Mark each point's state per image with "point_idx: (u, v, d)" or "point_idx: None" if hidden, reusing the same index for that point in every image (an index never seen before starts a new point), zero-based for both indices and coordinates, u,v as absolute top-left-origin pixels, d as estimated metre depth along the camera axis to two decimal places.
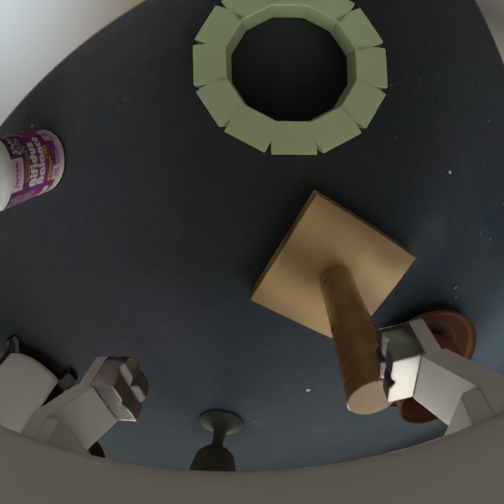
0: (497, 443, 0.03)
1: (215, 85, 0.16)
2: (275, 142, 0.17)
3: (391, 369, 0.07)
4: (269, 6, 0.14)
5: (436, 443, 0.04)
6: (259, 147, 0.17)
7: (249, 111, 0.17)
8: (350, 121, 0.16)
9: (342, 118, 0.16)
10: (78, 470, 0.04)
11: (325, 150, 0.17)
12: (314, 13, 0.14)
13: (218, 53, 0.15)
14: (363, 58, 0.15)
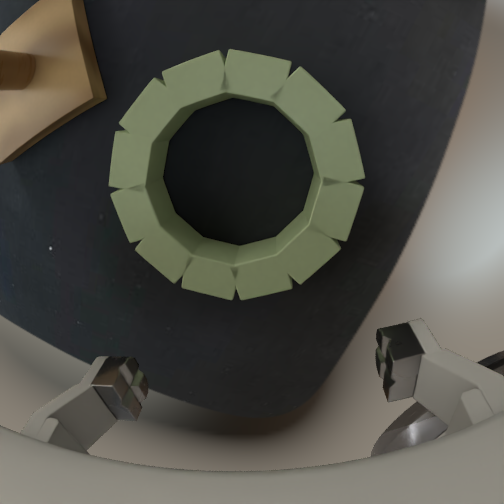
0: (497, 443, 0.03)
1: (276, 84, 0.11)
2: (160, 90, 0.12)
3: (391, 369, 0.07)
4: (309, 220, 0.14)
5: (436, 443, 0.04)
6: (170, 70, 0.11)
7: (214, 90, 0.12)
8: (125, 183, 0.13)
9: (133, 178, 0.13)
10: (78, 470, 0.04)
11: (116, 135, 0.13)
12: (263, 252, 0.15)
13: (308, 120, 0.12)
14: (177, 253, 0.15)
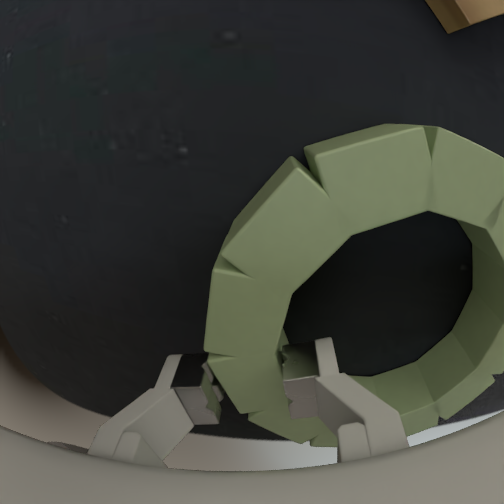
0: (497, 443, 0.03)
1: (490, 367, 0.08)
2: None
3: (284, 388, 0.08)
4: None
5: (436, 443, 0.04)
6: None
7: None
8: (440, 168, 0.06)
9: (447, 187, 0.06)
10: (78, 470, 0.04)
11: None
12: None
13: (448, 399, 0.09)
14: (293, 267, 0.07)
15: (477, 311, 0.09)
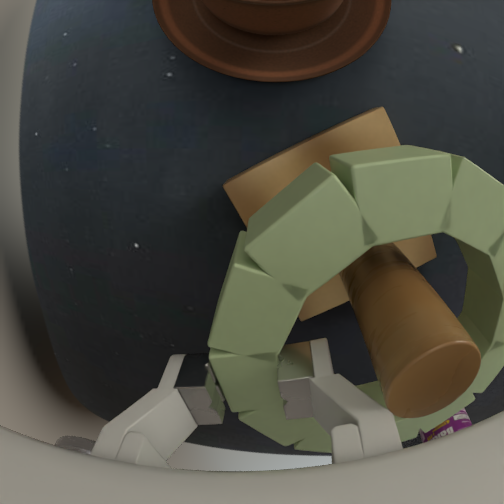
0: (497, 443, 0.03)
1: (472, 386, 0.09)
2: None
3: (279, 388, 0.08)
4: None
5: (436, 443, 0.04)
6: None
7: (498, 334, 0.08)
8: (459, 194, 0.06)
9: (462, 212, 0.06)
10: (78, 470, 0.04)
11: None
12: None
13: None
14: (314, 270, 0.07)
15: None
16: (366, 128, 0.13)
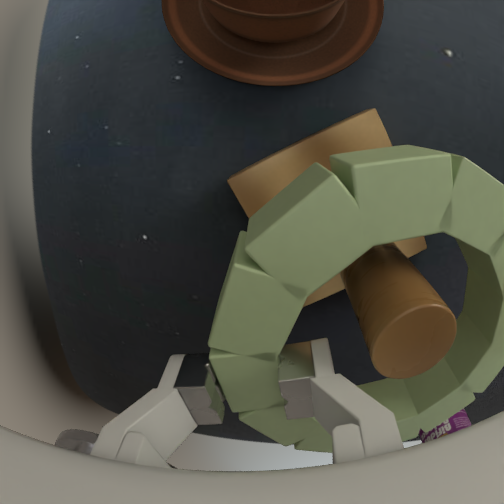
0: (497, 443, 0.03)
1: (473, 385, 0.09)
2: None
3: (280, 388, 0.08)
4: None
5: (436, 443, 0.04)
6: None
7: (498, 334, 0.08)
8: (459, 194, 0.06)
9: (462, 212, 0.06)
10: (78, 470, 0.04)
11: None
12: None
13: (431, 412, 0.10)
14: (314, 270, 0.07)
15: (466, 331, 0.10)
16: (359, 128, 0.15)
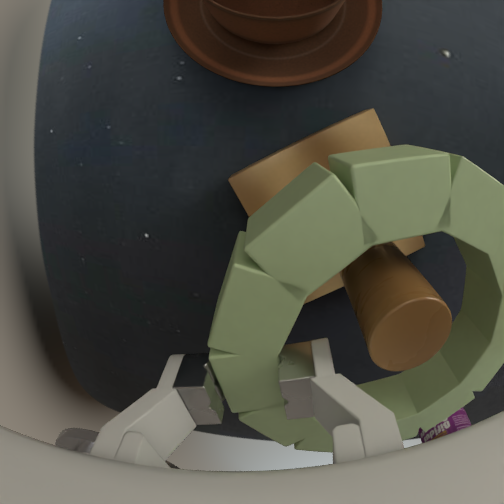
0: (497, 443, 0.03)
1: (472, 384, 0.09)
2: None
3: (280, 388, 0.08)
4: None
5: (436, 443, 0.04)
6: None
7: (497, 333, 0.08)
8: (457, 193, 0.06)
9: (461, 211, 0.07)
10: (78, 470, 0.04)
11: None
12: None
13: (430, 411, 0.10)
14: (314, 270, 0.07)
15: (464, 330, 0.10)
16: (357, 128, 0.15)
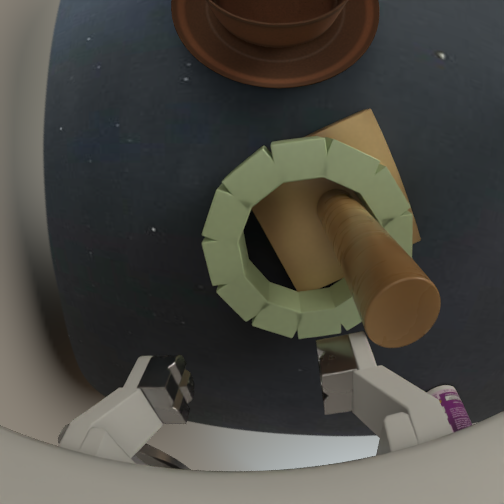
0: (497, 443, 0.03)
1: None
2: (398, 210, 0.15)
3: (321, 383, 0.07)
4: (271, 302, 0.18)
5: (436, 443, 0.04)
6: (410, 221, 0.15)
7: None
8: (331, 157, 0.14)
9: (334, 167, 0.14)
10: (78, 470, 0.04)
11: (376, 161, 0.14)
12: (244, 262, 0.18)
13: (345, 308, 0.18)
14: (254, 193, 0.15)
15: None
16: (355, 127, 0.16)
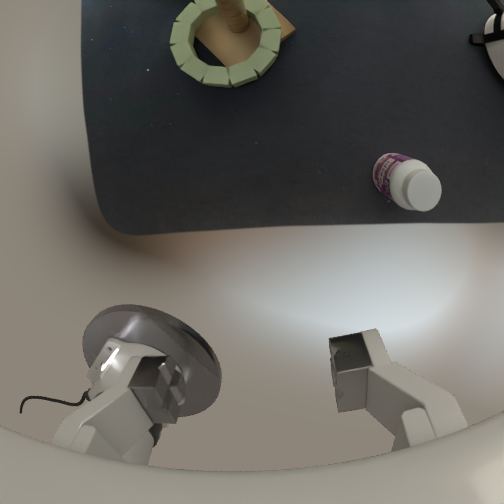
0: (497, 443, 0.03)
1: (267, 46, 0.26)
2: (262, 7, 0.24)
3: (336, 380, 0.07)
4: (210, 66, 0.28)
5: (436, 443, 0.04)
6: (271, 9, 0.24)
7: (262, 25, 0.25)
8: None
9: None
10: (78, 470, 0.04)
11: None
12: (193, 52, 0.27)
13: (252, 59, 0.27)
14: (190, 18, 0.25)
15: None
16: None
